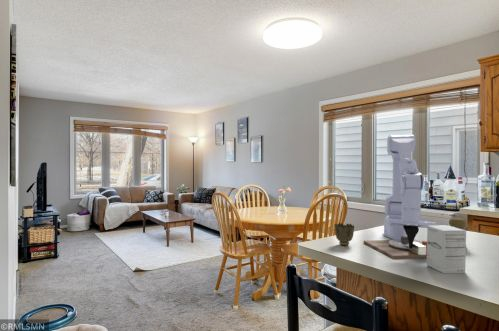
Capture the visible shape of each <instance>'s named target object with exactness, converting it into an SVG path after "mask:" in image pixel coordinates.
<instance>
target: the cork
mask: <svg viewBox="0 0 499 331" xmlns="http://www.w3.org/2000/svg"><path fill="white" fill-rule="evenodd" d="M448 226H452V227H455V228H459V229H462V230H465V226H466V221H465V219H463V218H460V217H451V218H449V220H448Z"/></svg>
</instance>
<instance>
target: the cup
mask: <svg viewBox="0 0 499 331" xmlns="http://www.w3.org/2000/svg"><path fill="white" fill-rule="evenodd" d="M333 225H334V232H335V238H336V240H337V241H339V242H338V243H339V245H340V246H342V247H343V246H344V247H347V246H349V245H350V242H351V241H352V240H353V238H354V234H355V233H354V232H355V225H354V224H352V223H346V224H344V223H342V222H338V223H335V224H333Z"/></svg>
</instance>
